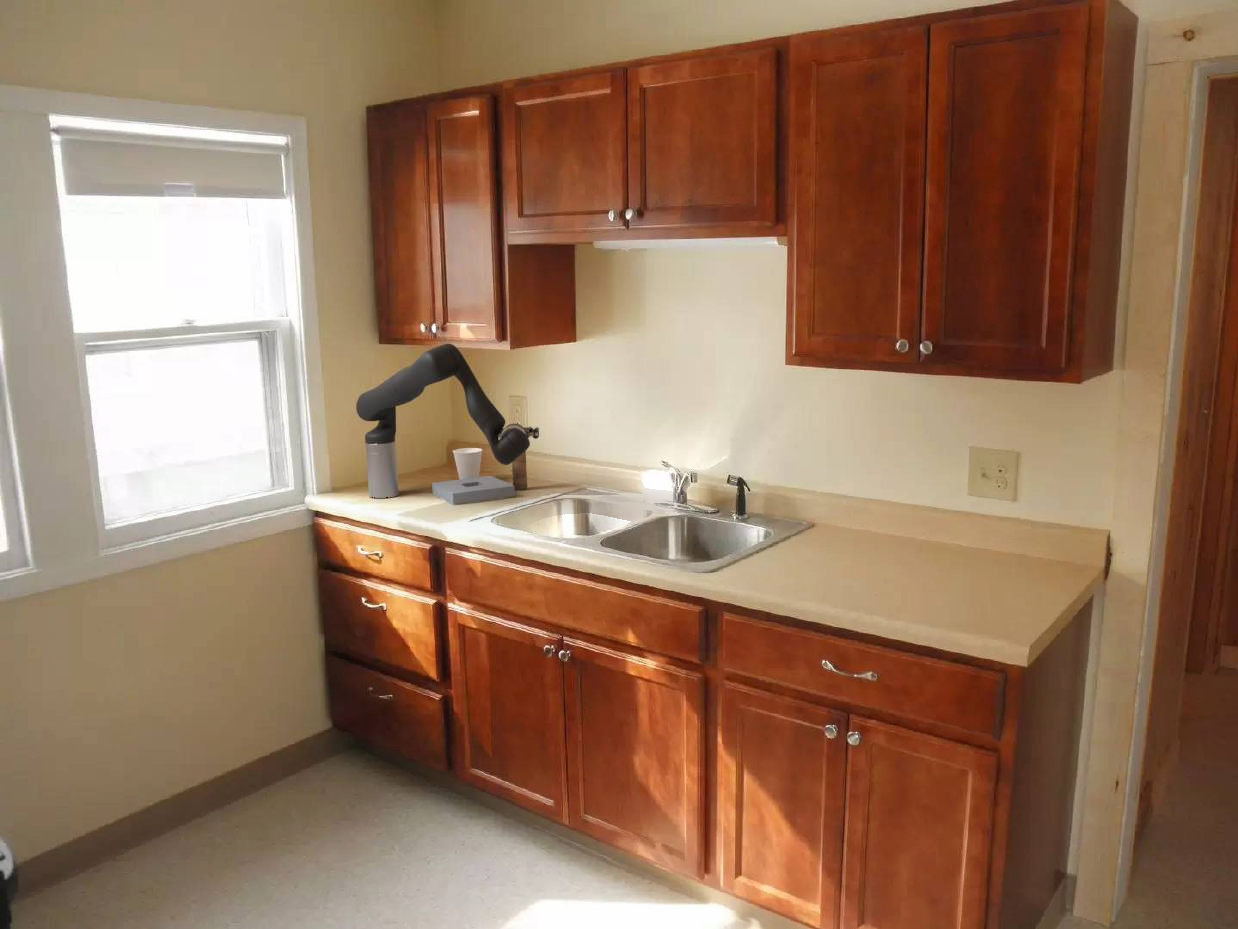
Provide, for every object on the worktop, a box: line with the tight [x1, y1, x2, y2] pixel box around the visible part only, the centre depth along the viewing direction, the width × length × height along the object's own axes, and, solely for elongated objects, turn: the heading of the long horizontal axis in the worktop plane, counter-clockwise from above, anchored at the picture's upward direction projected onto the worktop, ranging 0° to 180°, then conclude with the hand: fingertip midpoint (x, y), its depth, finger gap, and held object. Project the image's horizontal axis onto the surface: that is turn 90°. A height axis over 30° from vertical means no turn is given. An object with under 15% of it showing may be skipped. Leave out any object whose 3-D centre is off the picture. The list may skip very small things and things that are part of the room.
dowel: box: [511, 450, 528, 492], centre depth 329 cm, size 4×4×18 cm
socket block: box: [431, 475, 516, 506], centre depth 323 cm, size 20×20×4 cm
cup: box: [452, 447, 484, 480], centre depth 342 cm, size 10×10×11 cm
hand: (516, 430), depth 316 cm, fingers open, 8 cm apart
